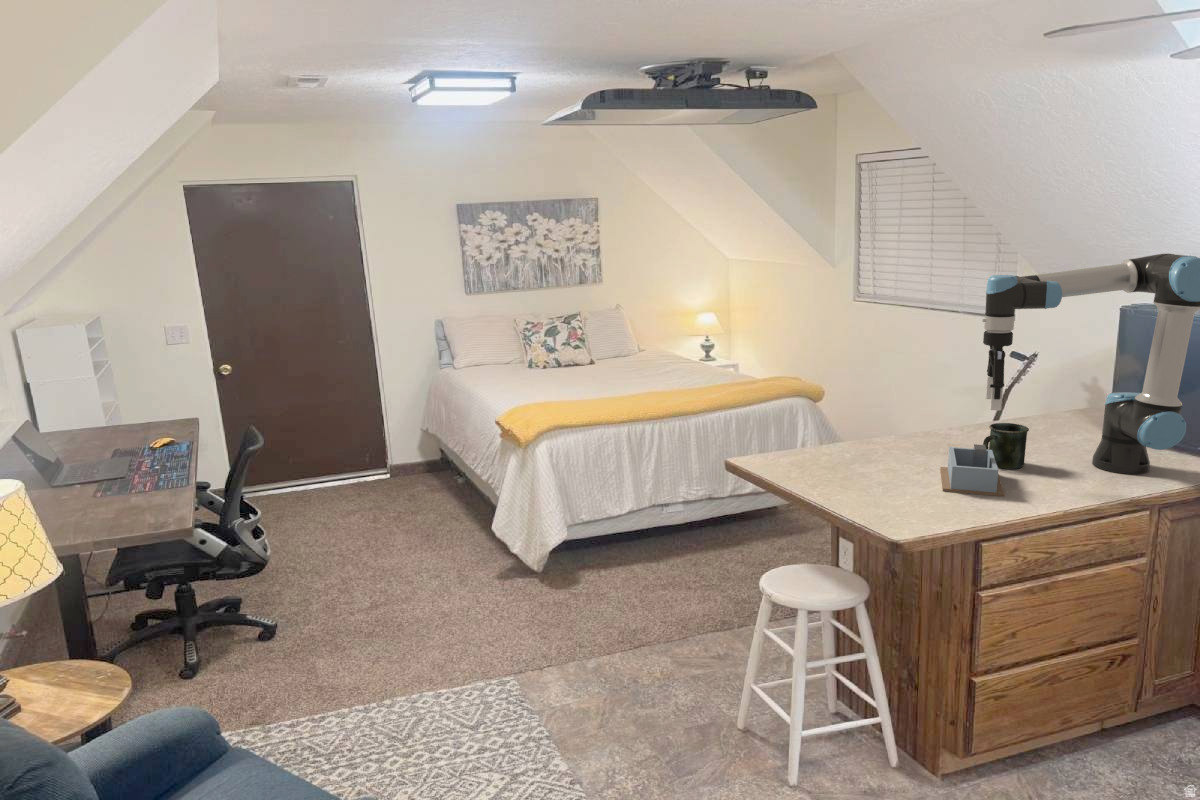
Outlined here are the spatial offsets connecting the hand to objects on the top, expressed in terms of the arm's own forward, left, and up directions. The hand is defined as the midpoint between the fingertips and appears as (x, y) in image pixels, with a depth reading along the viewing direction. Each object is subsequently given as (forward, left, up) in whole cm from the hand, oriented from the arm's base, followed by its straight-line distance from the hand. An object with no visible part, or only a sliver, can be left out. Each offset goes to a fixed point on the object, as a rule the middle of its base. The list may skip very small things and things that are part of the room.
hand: (993, 404), depth 255 cm
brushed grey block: (+4, +2, -22) cm, 23 cm away
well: (+4, +2, -23) cm, 24 cm away
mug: (-6, -18, -23) cm, 30 cm away
